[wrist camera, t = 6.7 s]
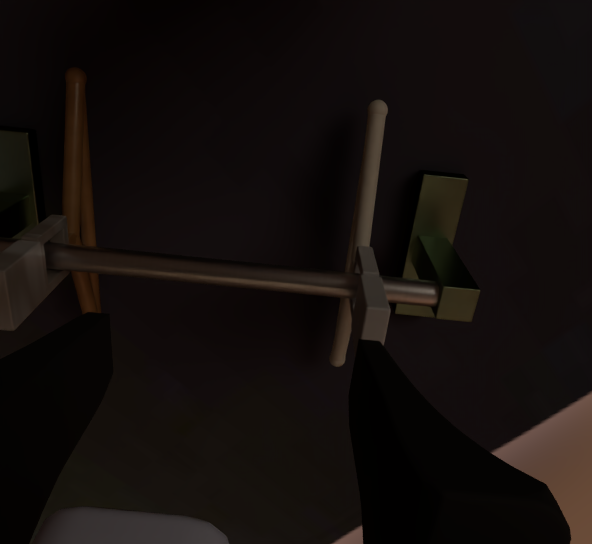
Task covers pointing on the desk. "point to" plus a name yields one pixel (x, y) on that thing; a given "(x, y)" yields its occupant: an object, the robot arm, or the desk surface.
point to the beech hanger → (56, 226)
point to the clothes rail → (399, 290)
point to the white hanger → (364, 252)
